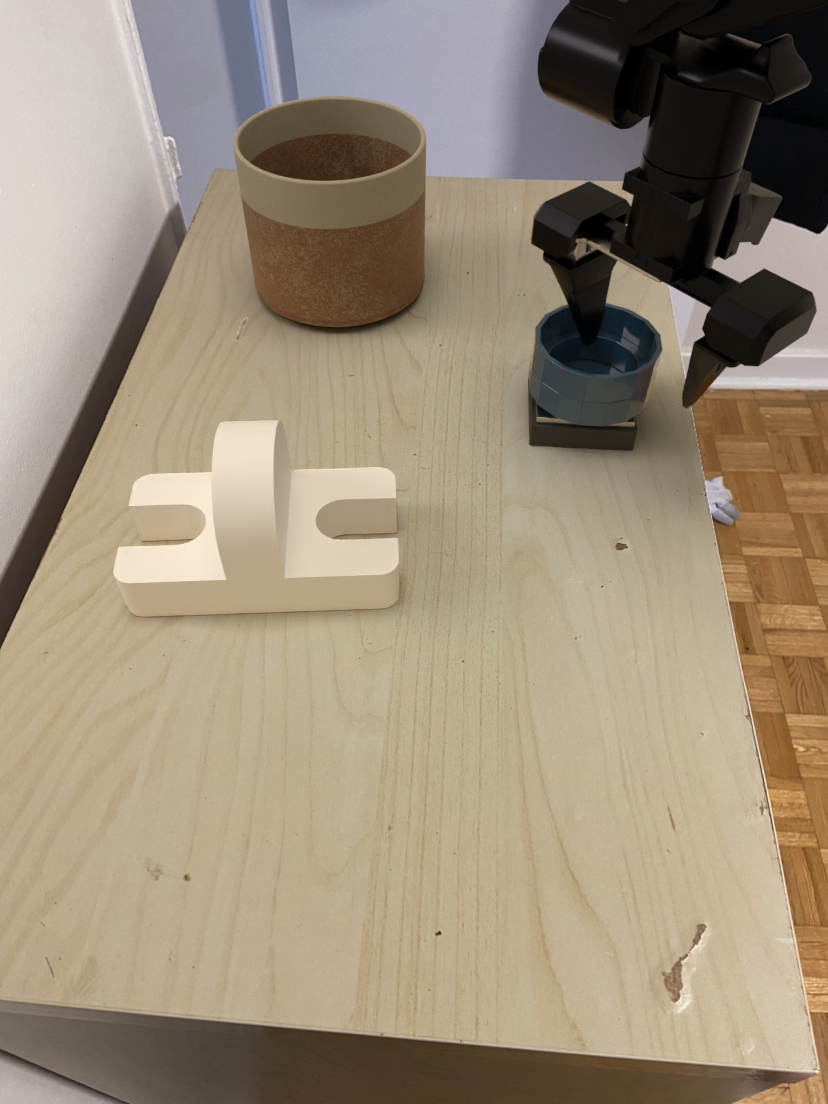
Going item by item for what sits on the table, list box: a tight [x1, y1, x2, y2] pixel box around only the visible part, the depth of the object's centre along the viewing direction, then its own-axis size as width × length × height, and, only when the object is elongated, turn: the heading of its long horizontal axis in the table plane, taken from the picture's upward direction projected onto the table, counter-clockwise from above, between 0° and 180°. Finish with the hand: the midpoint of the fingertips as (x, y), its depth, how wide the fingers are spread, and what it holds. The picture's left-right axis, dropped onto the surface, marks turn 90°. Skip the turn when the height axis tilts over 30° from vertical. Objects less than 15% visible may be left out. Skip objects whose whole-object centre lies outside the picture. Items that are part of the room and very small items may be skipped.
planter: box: [232, 95, 427, 328], centre depth 74 cm, size 16×16×14 cm
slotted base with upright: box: [112, 419, 400, 618], centre depth 54 cm, size 10×18×11 cm, turn 93°
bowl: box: [528, 302, 663, 426], centre depth 64 cm, size 9×9×5 cm
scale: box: [527, 361, 639, 451], centre depth 67 cm, size 8×8×3 cm
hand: (637, 372), depth 61 cm, fingers open, 9 cm apart
